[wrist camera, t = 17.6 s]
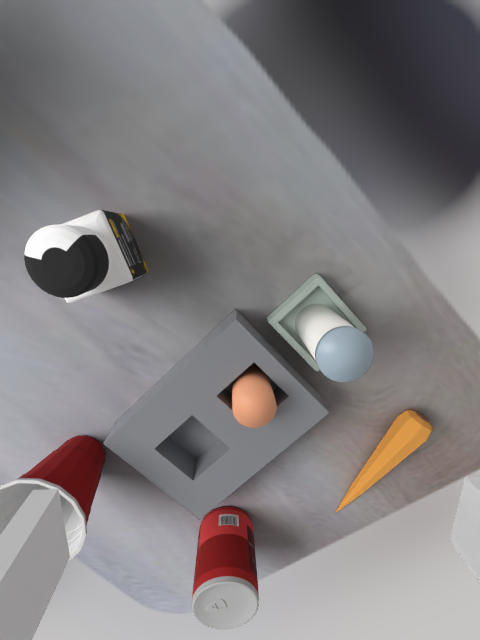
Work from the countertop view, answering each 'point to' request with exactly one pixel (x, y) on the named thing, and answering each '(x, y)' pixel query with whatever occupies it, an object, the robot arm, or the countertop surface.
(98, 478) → the plastic cup
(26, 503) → the robot arm
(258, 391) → the plunger
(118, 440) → the housing
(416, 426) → the carrot
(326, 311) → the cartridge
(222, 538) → the canned food
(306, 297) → the tray
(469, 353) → the countertop surface
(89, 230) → the medicine bottle
